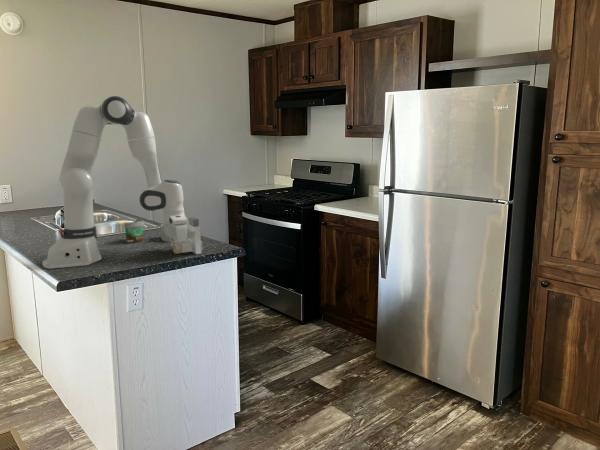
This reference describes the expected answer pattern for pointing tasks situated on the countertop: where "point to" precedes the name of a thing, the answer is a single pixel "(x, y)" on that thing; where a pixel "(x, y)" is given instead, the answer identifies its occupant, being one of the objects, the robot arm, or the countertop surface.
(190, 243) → the cream rectangular bar
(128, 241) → the food container
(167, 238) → the lumpy-topped squat cylinder
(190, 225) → the motor housing
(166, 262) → the countertop surface
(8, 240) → the countertop surface
